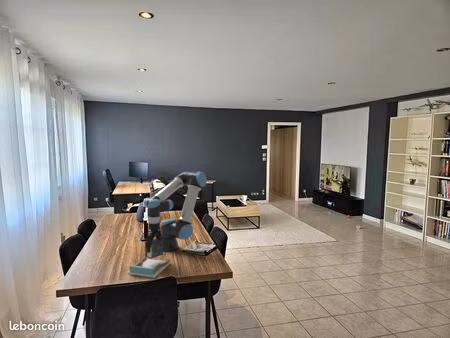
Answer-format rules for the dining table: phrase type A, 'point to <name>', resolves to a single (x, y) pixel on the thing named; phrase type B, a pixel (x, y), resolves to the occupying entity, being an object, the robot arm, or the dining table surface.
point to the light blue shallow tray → (148, 267)
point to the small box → (155, 248)
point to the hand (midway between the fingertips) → (154, 253)
